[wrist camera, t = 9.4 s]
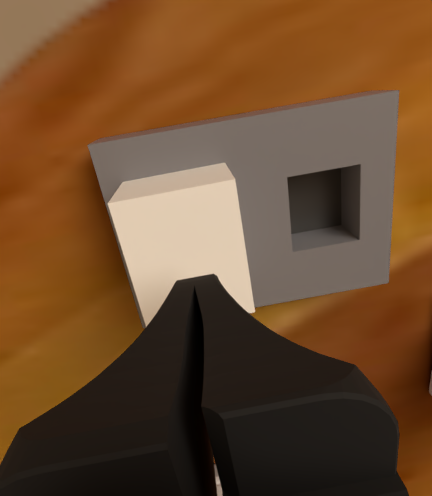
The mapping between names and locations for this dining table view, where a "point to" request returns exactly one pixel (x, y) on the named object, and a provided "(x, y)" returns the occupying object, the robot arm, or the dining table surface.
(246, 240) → the socket plate
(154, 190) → the plug
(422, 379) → the dining table surface
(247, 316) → the robot arm
